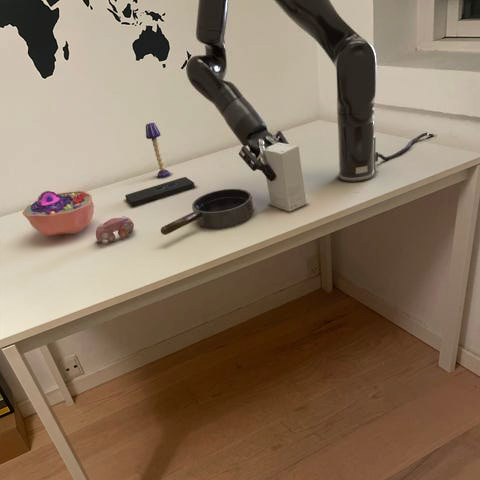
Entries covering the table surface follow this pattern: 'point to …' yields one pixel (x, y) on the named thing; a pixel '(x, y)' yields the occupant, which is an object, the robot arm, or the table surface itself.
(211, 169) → the table surface
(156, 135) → the toy lamp
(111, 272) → the table surface
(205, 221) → the pan
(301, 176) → the cosmetic box
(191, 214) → the pan handle
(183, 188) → the smart home device
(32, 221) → the cell model
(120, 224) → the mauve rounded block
